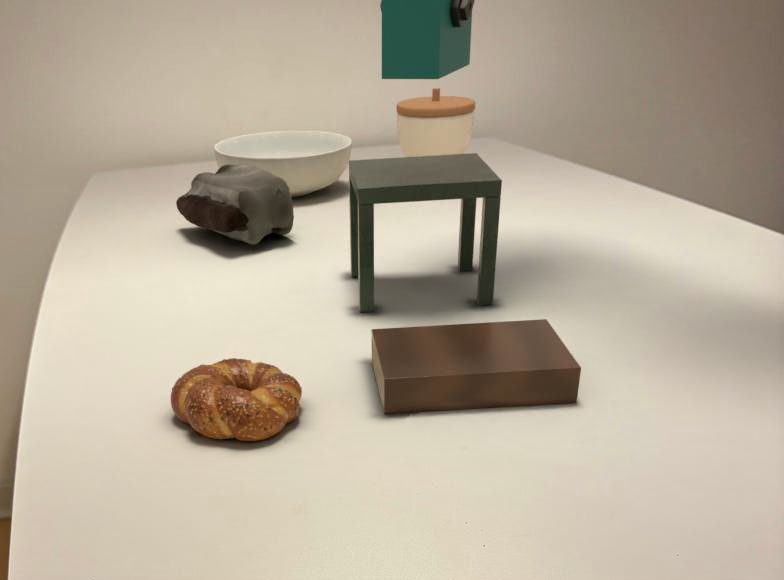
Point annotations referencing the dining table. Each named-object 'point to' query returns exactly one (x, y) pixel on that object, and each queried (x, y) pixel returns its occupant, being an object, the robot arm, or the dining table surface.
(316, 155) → the serving bowl
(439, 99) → the lidded bowl
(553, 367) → the low shelf
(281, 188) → the rock
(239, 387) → the pretzel
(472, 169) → the upper shelf
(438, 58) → the box
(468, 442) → the dining table surface
